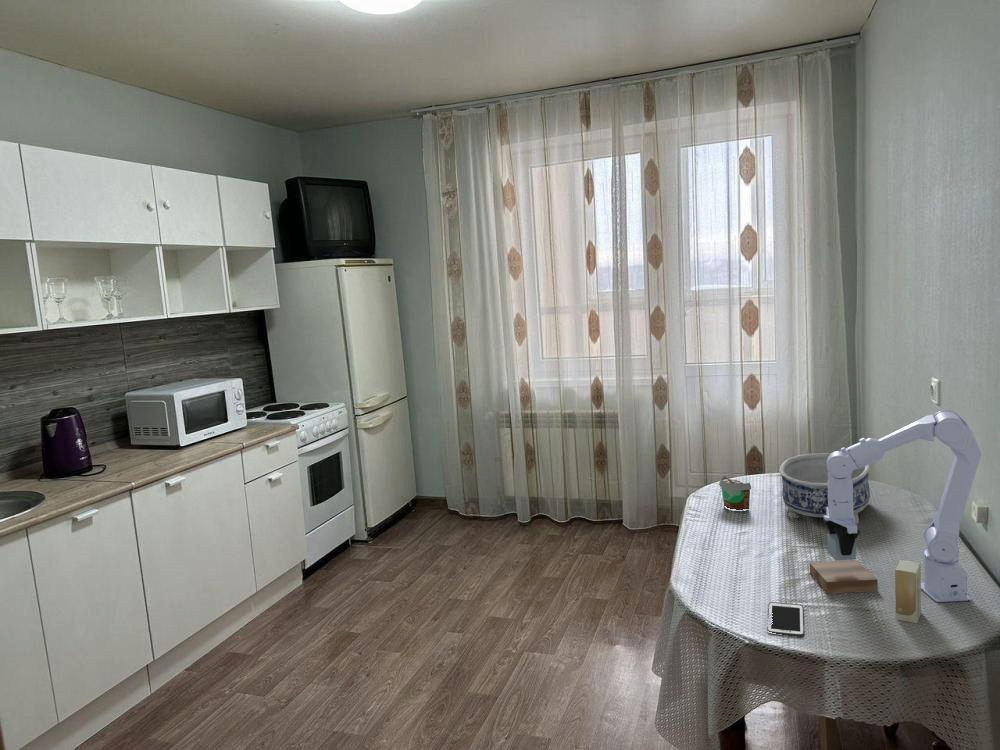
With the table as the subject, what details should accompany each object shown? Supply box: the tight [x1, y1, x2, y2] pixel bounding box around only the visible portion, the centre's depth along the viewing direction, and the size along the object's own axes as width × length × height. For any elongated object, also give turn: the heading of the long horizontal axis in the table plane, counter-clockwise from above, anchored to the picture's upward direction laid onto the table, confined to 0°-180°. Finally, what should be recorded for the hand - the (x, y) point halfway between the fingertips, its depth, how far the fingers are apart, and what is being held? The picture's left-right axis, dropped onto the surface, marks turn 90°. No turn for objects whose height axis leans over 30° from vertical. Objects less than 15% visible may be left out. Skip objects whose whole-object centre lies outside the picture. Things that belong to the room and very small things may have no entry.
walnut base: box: [809, 559, 879, 594], centre depth 178 cm, size 12×12×3 cm
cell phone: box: [766, 601, 805, 638], centre depth 162 cm, size 8×15×1 cm, turn 157°
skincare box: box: [894, 559, 922, 624], centre depth 158 cm, size 6×4×12 cm
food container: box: [718, 475, 752, 510], centre depth 237 cm, size 12×6×10 cm, turn 25°
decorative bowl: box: [779, 452, 871, 526], centre depth 229 cm, size 42×27×15 cm, turn 151°
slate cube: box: [826, 533, 857, 561], centre depth 177 cm, size 5×5×5 cm
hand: (841, 550), depth 177 cm, fingers closed on slate cube, 5 cm apart
